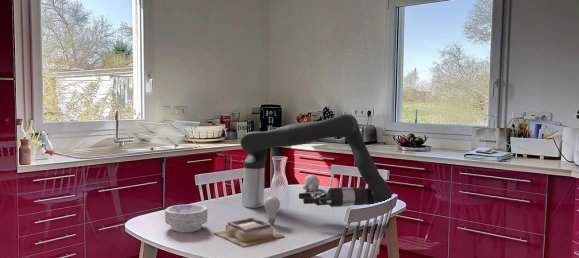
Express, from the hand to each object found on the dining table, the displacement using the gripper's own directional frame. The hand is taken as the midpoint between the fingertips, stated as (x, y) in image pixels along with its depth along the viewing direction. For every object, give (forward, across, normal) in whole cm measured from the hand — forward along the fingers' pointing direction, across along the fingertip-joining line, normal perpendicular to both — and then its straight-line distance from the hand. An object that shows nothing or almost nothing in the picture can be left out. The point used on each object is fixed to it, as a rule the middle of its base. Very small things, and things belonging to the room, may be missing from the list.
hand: (301, 198), depth 184 cm
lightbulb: (+12, 0, +10) cm, 15 cm away
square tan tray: (+22, +12, +10) cm, 27 cm away
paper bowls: (+44, +2, +10) cm, 45 cm away
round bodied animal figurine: (-19, -58, +10) cm, 62 cm away
